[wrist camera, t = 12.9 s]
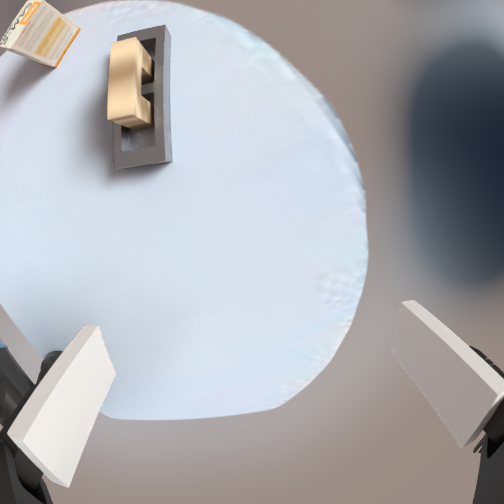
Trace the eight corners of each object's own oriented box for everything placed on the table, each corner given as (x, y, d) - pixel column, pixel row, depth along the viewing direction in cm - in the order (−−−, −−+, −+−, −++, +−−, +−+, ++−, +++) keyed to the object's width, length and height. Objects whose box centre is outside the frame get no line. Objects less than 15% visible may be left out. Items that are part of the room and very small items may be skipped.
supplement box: (65, 26, 26) (27, -1, 13) (81, 29, 27) (43, -2, 14) (40, 65, 27) (-4, 46, 15) (56, 69, 28) (10, 48, 16)
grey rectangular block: (172, 161, 35) (165, 160, 31) (125, 168, 35) (114, 168, 31) (170, 36, 29) (165, 24, 26) (126, 45, 29) (117, 36, 25)
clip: (154, 126, 33) (132, 114, 24) (134, 130, 32) (107, 119, 24) (154, 62, 30) (135, 36, 21) (135, 66, 30) (111, 43, 21)
